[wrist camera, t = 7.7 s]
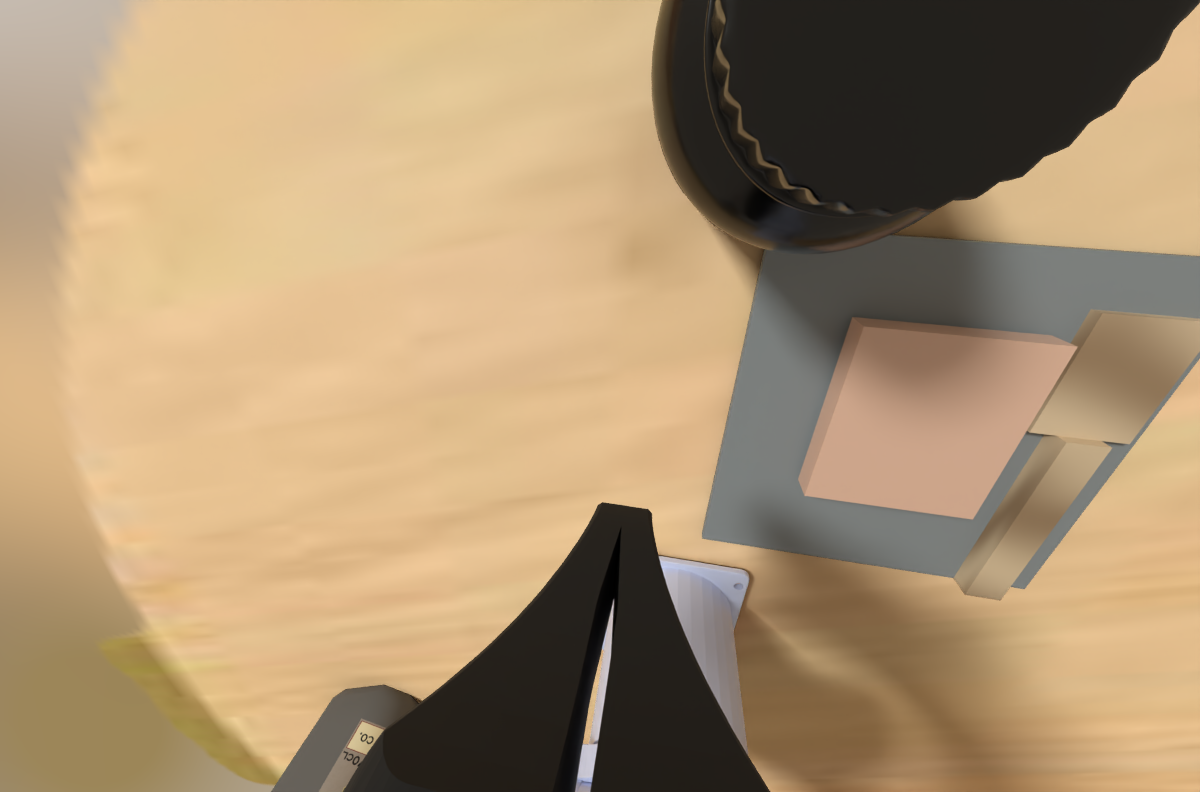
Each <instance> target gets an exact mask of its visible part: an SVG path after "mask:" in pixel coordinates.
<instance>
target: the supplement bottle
mask: <svg viewBox="0 0 1200 792" xmlns="http://www.w3.org/2000/svg"><path fill="white" fill-rule="evenodd" d="M1199 3H1200V0H662V3H661V7H660V12H659V16H658V21H657V26H656V31H655V39H654V46H653V56H652V101H653V110H654V118H655V123H656V128H657V133H658V137H659V141H660V144H661V148H662V151H663V154H664V156H665V159H666V161H667V164H668V166H669V169H670V171H671V172H672V174H673V176H674V178H675V180H676V182H677V184H678V185H679V187H680V188H681V190H682V191H683V193H684V194H685V195H686V196H687V198H688V199H689V200H690V201H691V203H692V204H693V205H694V206H695V207H696V208H697V209H698V210H699V211H700V212H701V213H702V214H703V215H704V216H705V217H706V218H707V220H709V221H710V222H711V223H712V224H714V225H715V226H716V227H718V228H719V229H721V230H722V231H724V232H725V233H727V234H729V235H730V236H732V237H734V238H737V239H739V240H741V241H743V242H745V243H748V244H751V245H753V246H756V247H759V248H762V249H766V250H771V251H775V252H781V253H789V254H824V253H831V252H837V251H843V250H847V249H851V248H855V247H859V246H862V245H865V244H868V243H871V242H874V241H877V240H880V239H882V238H885V237H887V236H889V235H892V234H894V233H896V232H898V231H900V230H902V229H904V228H906V227H908V226H910V225H912V224H914V223H915V222H917V221H919V220H920V219H922V218H924V217H925V216H927V215H928V214H930V213H932V212H933V211H934V210H936V209H938V208H940V207H942V206H944V205H946V204H947V203H949V202H951V201H953V200H971V199H975V198H977V197H979V196H980V195H982V194H984V193H985V192H987V191H988V190H989V189H991V188H992V187H993V186H995V185H996V184H997V183H999V182H1004V181H1009V180H1012V179H1016V178H1020V177H1023V176H1024V175H1025V174H1026V173H1027V172H1028V171H1030V170H1031V169H1032V168H1033V167H1034V166H1035V165H1036V164H1037V163H1038V162H1039V161H1040V160H1041V159H1042V158H1043V157H1045V156H1048V155H1050V154H1053V153H1056V152H1058V151H1060V150H1062V149H1065V148H1067V147H1069V146H1070V145H1071V144H1072V143H1073V141H1074V140H1075V139H1076V138H1077V137H1078V136H1079V135H1080V133H1081V132H1082V131H1083V130H1084V128H1085V127H1086V126H1087V125H1088V123H1090V122H1091V121H1093V120H1094V119H1096V118H1098V117H1100V116H1102V115H1104V114H1105V113H1107V112H1108V111H1110V110H1112V109H1113V108H1115V107H1116V105H1117V104H1118V102H1119V101H1120V99H1121V98H1122V97H1123V95H1124V94H1125V92H1126V90H1127V89H1128V87H1129V85H1130V84H1131V82H1132V81H1133V80H1134V79H1135V78H1136V77H1137V76H1139V75H1140V74H1141V73H1143V72H1144V71H1146V70H1147V69H1148V68H1149V67H1151V66H1152V65H1153V64H1154V63H1155V62H1157V61H1158V60H1159V59H1160V57H1161V55H1162V53H1163V51H1164V49H1165V47H1166V45H1167V43H1168V41H1169V39H1170V36H1171V34H1172V32H1173V30H1174V29H1175V28H1176V27H1177V25H1178V24H1179V23H1180V22H1181V21H1182V20H1183V19H1185V18H1186V17H1187V16H1188V15H1189V14H1190V13H1191V12H1192V11H1193V9H1194V8H1195V7H1196V6H1197V5H1198V4H1199Z"/></svg>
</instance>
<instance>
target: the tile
mask: <svg viewBox="0 0 1200 792" xmlns="http://www.w3.org/2000/svg"><path fill="white" fill-rule="evenodd" d="M1076 349H1077V346H1075V345H1073V344H1070V343H1068V342H1066V341H1064V340H1061V339H1059V338H1057V337H1054V336H1052V335H1043V334H1032V333H1021V332H1010V331H999V330H988V329H978V328H967V327H956V326H945V325H934V324H923V323H912V322H902V321H891V320H880V319H869V318H858V317H852V320H851V323H850V326H849V328H848V331H847V334H846V337H845V340H844V343H843V346H842V349H841V352H840V355H839V358H838V361H837V364H836V367H835V370H834V373H833V376H832V379H831V382H830V385H829V388H828V391H827V394H826V397H825V400H824V403H823V406H822V409H821V412H820V415H819V418H818V421H817V424H816V427H815V430H814V433H813V436H812V439H811V442H810V445H809V448H808V451H807V454H806V457H805V460H804V463H803V466H802V469H801V472H800V475H799V478H798V480H799V483H800V486H801V488H802V491H803V493H804V496H809V497H817V498H824V499H831V500H838V501H845V502H852V503H859V504H866V505H873V506H880V507H887V508H894V509H901V510H909V511H916V512H923V513H930V514H937V515H944V516H951V517H958V518H965V519H972V520H973V518H974V517H975V515H976V514H977V512H978V510H979V509H980V507H981V505H982V504H983V502H984V500H985V499H986V497H987V495H988V494H989V492H990V490H991V489H992V487H993V486H994V484H995V482H996V481H997V479H998V477H999V476H1000V474H1001V472H1002V471H1003V469H1004V467H1005V466H1006V464H1007V463H1008V461H1009V459H1010V458H1011V456H1012V454H1013V453H1014V451H1015V449H1016V448H1017V446H1018V444H1019V443H1020V441H1021V439H1022V438H1023V436H1024V435H1025V433H1026V431H1027V430H1028V428H1029V426H1030V425H1031V423H1032V421H1033V420H1034V418H1035V416H1036V415H1037V413H1038V411H1039V410H1040V408H1041V407H1042V405H1043V403H1044V402H1045V400H1046V398H1047V397H1048V395H1049V393H1050V392H1051V390H1052V388H1053V387H1054V385H1055V384H1056V382H1057V380H1058V379H1059V377H1060V375H1061V374H1062V372H1063V370H1064V369H1065V367H1066V365H1067V364H1068V362H1069V360H1070V359H1071V357H1072V356H1073V354H1074V352H1075V351H1076Z"/></svg>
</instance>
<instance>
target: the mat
mask: <svg viewBox="0 0 1200 792" xmlns="http://www.w3.org/2000/svg"><path fill="white" fill-rule="evenodd" d="M1091 309H1093V310H1105V311H1116V312H1128V313H1140V314H1152V315H1164V316H1175V317H1187V318H1199V319H1200V256H1189V255H1174V254H1160V253H1146V252H1131V251H1117V250H1103V249H1088V248H1074V247H1059V246H1045V245H1031V244H1016V243H1002V242H988V241H973V240H959V239H945V238H930V237H916V236H902V235H889V236H887V237H885V238H882V239H880V240H877V241H874V242H871V243H868V244H865V245H862V246H859V247H855V248H851V249H847V250H843V251H837V252H831V253H824V254H789V253H781V252H775V251H771V250H766V249H764V253H763V257H762V262H761V267H760V271H759V276H758V280H757V285H756V289H755V294H754V298H753V303H752V308H751V312H750V317H749V321H748V326H747V330H746V335H745V339H744V344H743V349H742V353H741V358H740V362H739V367H738V371H737V376H736V380H735V385H734V390H733V394H732V399H731V403H730V408H729V412H728V417H727V422H726V426H725V431H724V435H723V440H722V444H721V449H720V453H719V458H718V463H717V467H716V472H715V476H714V481H713V485H712V490H711V494H710V499H709V504H708V508H707V513H706V517H705V522H704V526H703V531H702V539H708V540H715V541H721V542H727V543H734V544H740V545H747V546H753V547H759V548H766V549H772V550H778V551H785V552H791V553H798V554H804V555H810V556H817V557H823V558H829V559H836V560H842V561H848V562H855V563H861V564H868V565H874V566H880V567H887V568H893V569H899V570H906V571H912V572H918V573H925V574H931V575H938V576H944V577H950V578H954V576H955V575H956V573H957V572H958V570H959V568H960V567H961V565H962V564H963V562H964V561H965V559H966V557H967V556H968V554H969V553H970V551H971V549H972V548H973V546H974V545H975V543H976V542H977V540H978V538H979V537H980V535H981V534H982V532H983V531H984V529H985V527H986V526H987V524H988V523H989V521H990V519H991V518H992V516H993V515H994V513H995V512H996V510H997V508H998V507H999V505H1000V504H1001V502H1002V501H1003V499H1004V497H1005V496H1006V494H1007V493H1008V491H1009V489H1010V488H1011V486H1012V485H1013V483H1014V482H1015V480H1016V478H1017V477H1018V475H1019V474H1020V472H1021V471H1022V469H1023V467H1024V466H1025V464H1026V463H1027V461H1028V459H1029V458H1030V456H1031V455H1032V453H1033V452H1034V450H1035V448H1036V447H1037V445H1038V444H1039V442H1040V441H1041V439H1042V437H1043V436H1044V434H1037V433H1029V432H1028V431H1026V433H1025V435H1024V436H1023V438H1022V439H1021V441H1020V443H1019V444H1018V446H1017V448H1016V449H1015V451H1014V453H1013V454H1012V456H1011V458H1010V459H1009V461H1008V463H1007V464H1006V466H1005V467H1004V469H1003V471H1002V472H1001V474H1000V476H999V477H998V479H997V481H996V482H995V484H994V486H993V487H992V489H991V490H990V492H989V494H988V495H987V497H986V499H985V500H984V502H983V504H982V505H981V507H980V509H979V510H978V512H977V514H976V515H975V517H974V518H973V520H972V519H965V518H958V517H951V516H944V515H937V514H930V513H923V512H916V511H909V510H901V509H894V508H887V507H880V506H873V505H866V504H859V503H852V502H845V501H838V500H831V499H824V498H817V497H809V496H804V493H803V491H802V488H801V486H800V483H799V480H798V478H799V475H800V472H801V469H802V466H803V463H804V460H805V457H806V454H807V451H808V448H809V445H810V442H811V439H812V436H813V433H814V430H815V427H816V424H817V421H818V418H819V415H820V412H821V409H822V406H823V403H824V400H825V397H826V394H827V391H828V388H829V385H830V382H831V379H832V376H833V373H834V370H835V367H836V364H837V361H838V358H839V355H840V352H841V349H842V346H843V343H844V340H845V337H846V334H847V331H848V328H849V326H850V323H851V320H852V317H858V318H869V319H880V320H891V321H902V322H912V323H923V324H934V325H945V326H956V327H967V328H978V329H988V330H999V331H1010V332H1021V333H1032V334H1043V335H1052V336H1054V337H1057V338H1059V339H1061V340H1064V341H1066V342H1068V343H1071V342H1072V340H1073V338H1074V337H1075V335H1076V333H1077V332H1078V330H1079V328H1080V327H1081V325H1082V323H1083V322H1084V320H1085V318H1086V316H1087V315H1088V313H1089V311H1090V310H1091ZM1199 359H1200V352H1199V353H1198V354H1197V356H1196V357H1195V358H1194V360H1193V361H1192V362H1191V363H1190V365H1189V366H1188V367H1187V369H1186V370H1185V371H1184V373H1183V374H1182V375H1181V377H1180V378H1179V379H1178V381H1177V382H1176V383H1175V385H1174V386H1173V387H1172V389H1171V390H1170V391H1169V393H1168V394H1167V395H1166V397H1165V398H1164V399H1163V401H1162V402H1161V403H1160V405H1159V406H1158V407H1157V409H1156V410H1155V411H1154V413H1153V414H1152V415H1151V417H1150V418H1149V419H1148V421H1147V422H1146V423H1145V425H1144V426H1143V427H1142V429H1141V430H1140V431H1139V433H1138V434H1137V435H1136V437H1135V438H1134V439H1133V441H1132V442H1131V443H1130V444H1123V443H1114V442H1106V441H1102V442H1104V443H1105V444H1107V445H1108V446H1110V447H1112V449H1111V451H1110V452H1109V453H1108V455H1107V456H1106V457H1105V459H1104V460H1103V461H1102V463H1101V464H1100V466H1099V467H1098V468H1097V470H1096V471H1095V472H1094V474H1093V475H1092V476H1091V478H1090V479H1089V481H1088V482H1087V483H1086V485H1085V486H1084V487H1083V489H1082V490H1081V491H1080V493H1079V494H1078V496H1077V497H1076V498H1075V500H1074V501H1073V502H1072V504H1071V505H1070V506H1069V508H1068V509H1067V511H1066V512H1065V513H1064V515H1063V516H1062V517H1061V519H1060V520H1059V521H1058V523H1057V524H1056V526H1055V527H1054V528H1053V530H1052V531H1051V532H1050V534H1049V535H1048V536H1047V538H1046V539H1045V541H1044V542H1043V543H1042V545H1041V546H1040V547H1039V549H1038V550H1037V551H1036V553H1035V554H1034V556H1033V557H1032V558H1031V560H1030V561H1029V562H1028V564H1027V565H1026V566H1025V568H1024V569H1023V570H1022V572H1021V573H1020V575H1019V576H1018V577H1017V579H1016V580H1015V581H1014V583H1013V584H1012V585H1011V587H1014V588H1020V589H1025V588H1026V587H1027V585H1028V584H1029V583H1030V581H1031V580H1032V579H1033V577H1034V576H1035V575H1036V573H1037V572H1038V571H1039V569H1040V568H1041V567H1042V565H1043V564H1044V563H1045V561H1046V560H1047V559H1048V558H1049V556H1050V555H1051V554H1052V552H1053V551H1054V550H1055V548H1056V547H1057V546H1058V544H1059V543H1060V542H1061V540H1062V539H1063V538H1064V536H1065V535H1066V534H1067V533H1068V531H1069V530H1070V529H1071V527H1072V526H1073V525H1074V523H1075V522H1076V521H1077V519H1078V518H1079V517H1080V515H1081V514H1082V513H1083V511H1084V510H1085V509H1086V507H1087V506H1088V505H1089V504H1090V502H1091V501H1092V500H1093V498H1094V497H1095V496H1096V494H1097V493H1098V492H1099V490H1100V489H1101V488H1102V486H1103V485H1104V484H1105V482H1106V481H1107V480H1108V478H1109V477H1110V476H1111V475H1112V473H1113V472H1114V471H1115V469H1116V468H1117V467H1118V465H1119V464H1120V463H1121V461H1122V460H1123V459H1124V457H1125V456H1126V455H1127V453H1128V452H1129V451H1130V450H1131V448H1132V447H1133V446H1134V444H1135V443H1136V442H1137V440H1138V439H1139V438H1140V436H1141V435H1142V434H1143V432H1144V431H1145V430H1146V428H1147V427H1148V426H1149V424H1150V423H1151V422H1152V421H1153V419H1154V418H1155V417H1156V415H1157V414H1158V413H1159V411H1160V410H1161V409H1162V407H1163V406H1164V405H1165V403H1166V402H1167V401H1168V399H1169V398H1170V397H1171V396H1172V394H1173V393H1174V392H1175V390H1176V389H1177V388H1178V386H1179V385H1180V384H1181V382H1182V381H1183V380H1184V378H1185V377H1186V376H1187V374H1188V373H1189V372H1190V370H1191V369H1192V368H1193V367H1194V365H1195V364H1196V363H1197V361H1198V360H1199Z"/></svg>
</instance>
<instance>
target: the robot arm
mask: <svg viewBox="0 0 1200 792" xmlns="http://www.w3.org/2000/svg"><path fill="white" fill-rule="evenodd" d="M736 583H740V584H736ZM748 584H749V574H748V573H747V572H746V571H745V570H742V569H736V568H730V567H724V566H718V565H712V564H706V563H700V562H694V561H688V560H682V559H675V558H669V557H663V556H658V552H657V547H656V543H655V538H654V532H653V525H652V513H651V512H650V511H649V510H648V509H642V508H636V507H629V506H623V505H616V504H609V503H603V502H602V503H601V504H599V505H598V506H597V509H596V511H595V513H594V515H593V517H592V519H591V521H590V522H589V524H588V526H587V528H586V529H585V531H584V532H583V534H582V536H581V537H580V539H579V540H578V542H577V543H576V545H575V546H574V548H573V549H572V551H571V552H570V553H569V555H568V556H567V558H566V559H565V561H564V562H563V563H562V565H561V566H560V567H559V569H558V570H557V571H556V572H555V574H554V575H553V576H552V577H551V579H550V580H549V581H548V583H547V584H546V585H545V586H544V588H543V589H542V590H541V591H540V592H539V593H538V595H537V596H536V597H535V598H534V599H533V600H532V602H531V603H530V604H529V605H528V606H527V607H526V608H525V609H524V610H523V611H522V612H521V614H520V615H519V616H518V617H517V618H516V619H515V620H514V621H513V622H512V623H511V624H510V625H509V626H508V627H507V628H506V629H505V630H504V631H503V632H502V633H501V634H500V635H499V636H498V637H497V638H496V639H495V640H494V641H493V642H492V643H491V644H489V645H488V646H487V647H486V648H485V649H484V650H483V651H482V652H481V653H480V654H479V655H477V656H476V657H475V658H474V659H473V660H472V661H470V662H469V663H468V664H467V665H466V666H465V667H463V668H462V669H461V670H460V671H459V672H458V673H456V674H455V675H454V676H453V677H452V678H451V679H449V680H448V681H447V682H446V683H445V684H444V685H442V686H441V687H440V688H439V689H437V690H436V691H435V692H434V693H432V694H431V695H430V696H428V697H427V698H426V699H424V700H423V701H422V702H420V703H419V704H418V705H416V706H415V707H414V708H412V709H411V710H410V711H408V712H407V713H406V714H404V715H403V716H402V717H400V718H399V719H398V720H396V721H395V722H394V723H392V724H391V725H390V726H388V727H387V728H386V729H385V730H384V731H383V732H382V733H381V735H380V736H379V737H378V739H377V740H376V741H375V743H374V744H373V746H372V747H371V749H370V750H369V751H368V753H367V754H366V756H365V757H364V759H363V761H362V762H361V764H360V765H359V767H358V768H357V769H356V771H355V772H354V774H353V776H352V777H351V779H350V781H349V783H348V784H347V786H346V788H345V790H344V792H770V791H769V789H768V787H767V786H766V784H765V783H764V781H763V779H762V778H761V776H760V775H759V773H758V771H757V770H756V768H755V766H754V765H753V763H752V762H751V760H750V758H749V757H748V748H747V740H746V731H745V723H744V715H743V706H742V698H741V690H740V681H739V673H738V664H737V656H736V648H735V639H734V629H735V625H736V622H737V619H738V616H739V613H740V609H741V606H742V603H743V600H744V597H745V593H746V590H747V587H748ZM602 649H603V650H604V653H603V659H602V665H601V672H600V678H599V684H598V691H597V697H596V703H595V710H594V716H593V722H592V729H591V735H590V741H589V744H583V739H584V733H585V726H586V720H587V714H588V708H589V702H590V698H591V693H592V688H593V683H594V679H595V675H596V671H597V667H598V663H599V659H600V655H601V650H602Z"/></svg>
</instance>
